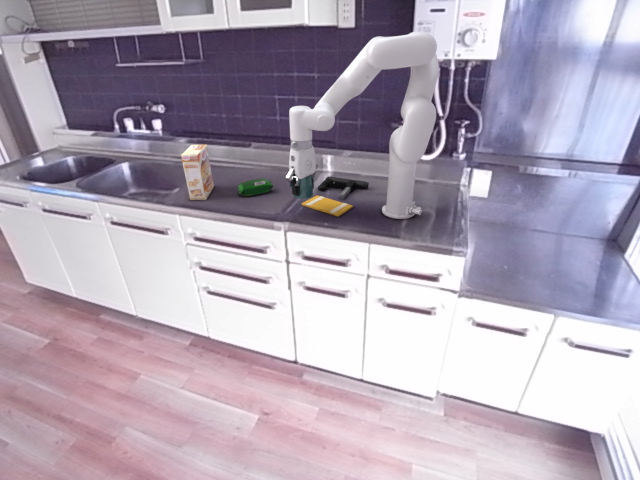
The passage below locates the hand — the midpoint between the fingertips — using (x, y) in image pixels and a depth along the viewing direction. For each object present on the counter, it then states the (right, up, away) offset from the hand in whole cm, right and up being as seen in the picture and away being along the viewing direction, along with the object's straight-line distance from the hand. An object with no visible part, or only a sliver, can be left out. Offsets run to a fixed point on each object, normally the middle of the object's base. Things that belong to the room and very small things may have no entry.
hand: (303, 191), depth 138 cm
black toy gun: (+16, +3, +24) cm, 29 cm away
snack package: (-21, +2, +24) cm, 32 cm away
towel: (+9, -5, +10) cm, 15 cm away
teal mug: (-1, -1, +1) cm, 2 cm away
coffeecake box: (-45, +2, +25) cm, 52 cm away
